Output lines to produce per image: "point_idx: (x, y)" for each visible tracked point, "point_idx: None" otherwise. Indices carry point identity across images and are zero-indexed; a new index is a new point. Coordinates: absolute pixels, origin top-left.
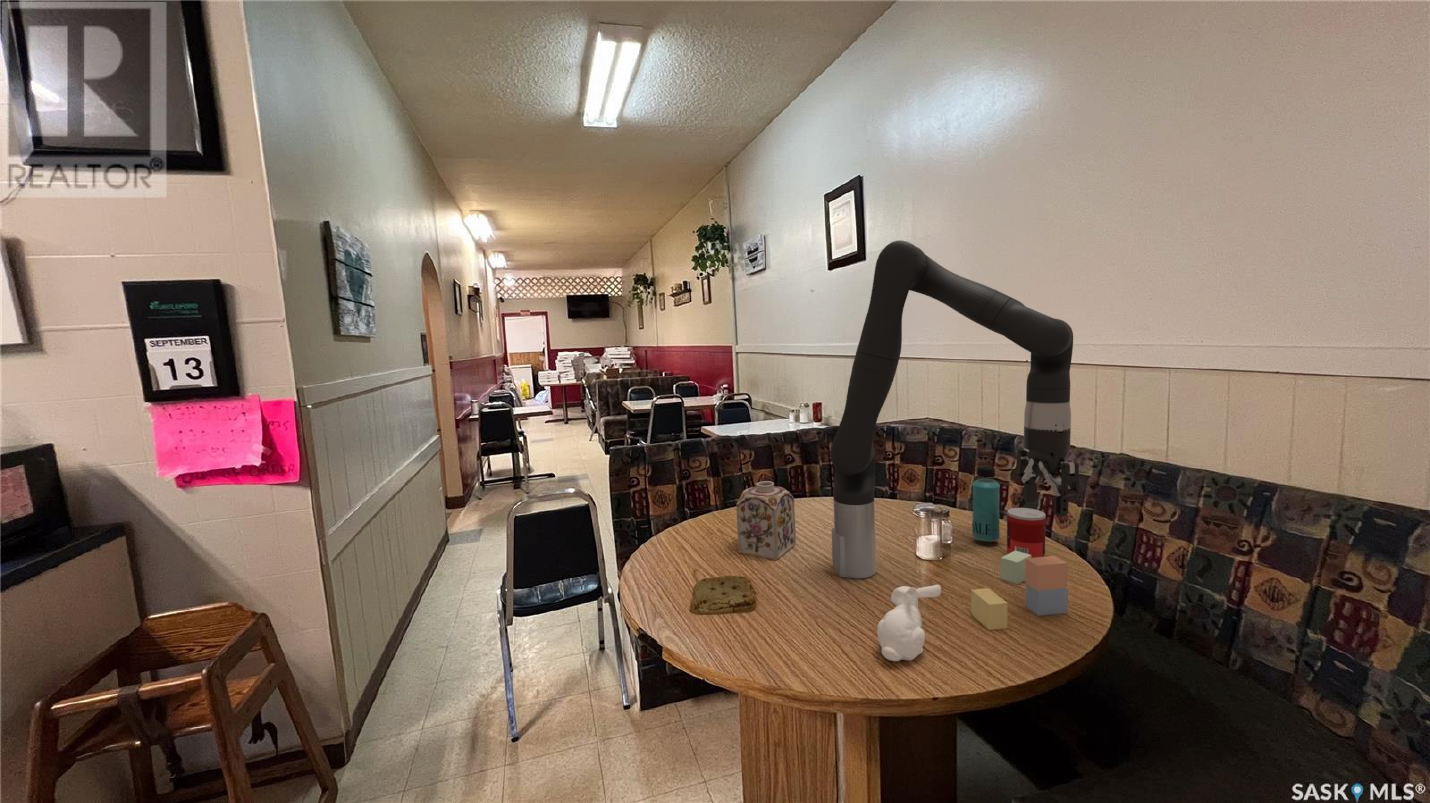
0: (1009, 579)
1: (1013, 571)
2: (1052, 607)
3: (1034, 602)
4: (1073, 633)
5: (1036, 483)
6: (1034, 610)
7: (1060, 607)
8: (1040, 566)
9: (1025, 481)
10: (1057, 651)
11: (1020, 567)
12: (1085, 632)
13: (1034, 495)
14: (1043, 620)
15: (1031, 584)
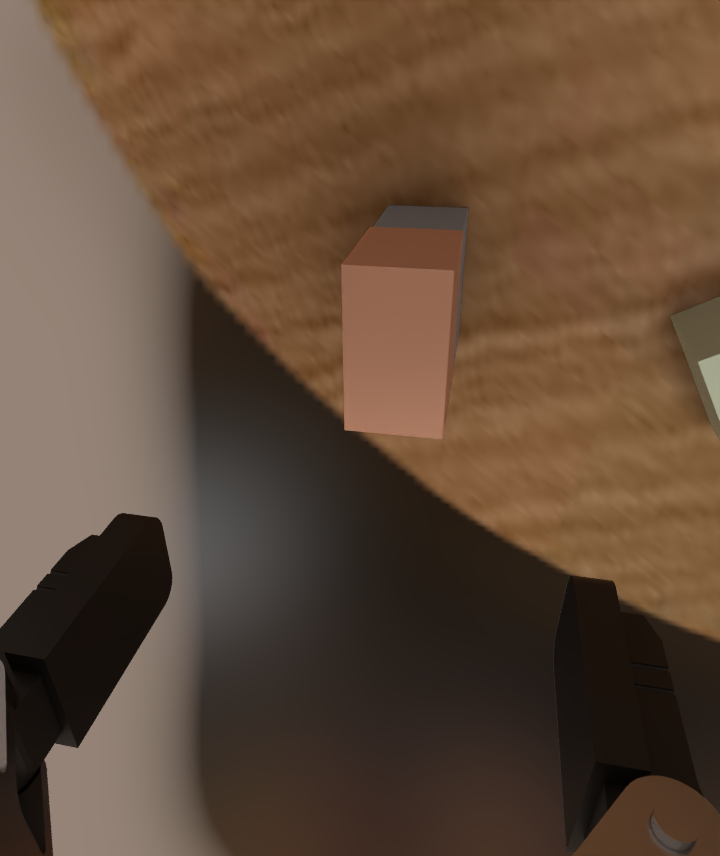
0: (712, 303)
1: (704, 329)
2: None
3: (406, 217)
4: (248, 241)
5: (574, 849)
6: (409, 208)
7: None
8: (343, 281)
9: (618, 800)
10: (133, 87)
11: (698, 372)
12: (251, 287)
13: (558, 687)
14: (348, 199)
15: (410, 231)
